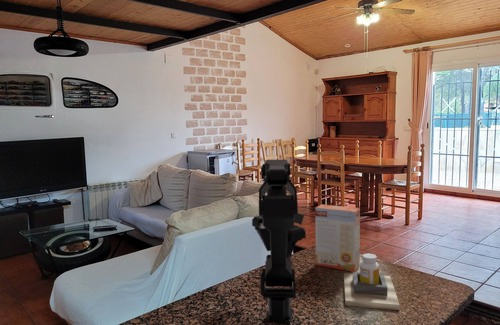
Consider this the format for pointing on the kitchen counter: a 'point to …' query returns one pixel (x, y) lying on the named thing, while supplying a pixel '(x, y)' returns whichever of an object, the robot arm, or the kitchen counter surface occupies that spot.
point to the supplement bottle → (369, 270)
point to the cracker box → (338, 237)
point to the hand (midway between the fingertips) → (278, 255)
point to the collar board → (370, 292)
